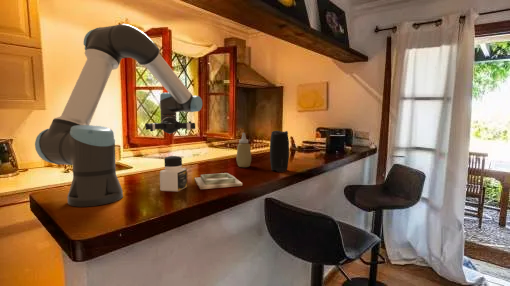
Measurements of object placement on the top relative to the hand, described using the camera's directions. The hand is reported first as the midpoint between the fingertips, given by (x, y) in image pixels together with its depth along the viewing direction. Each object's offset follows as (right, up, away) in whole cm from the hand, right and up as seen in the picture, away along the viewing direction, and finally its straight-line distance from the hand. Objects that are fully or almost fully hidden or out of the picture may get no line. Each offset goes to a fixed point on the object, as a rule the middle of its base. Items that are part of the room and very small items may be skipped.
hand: (171, 126), depth 110 cm
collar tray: (+18, -22, +1) cm, 29 cm away
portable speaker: (+45, -20, +26) cm, 56 cm away
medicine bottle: (+3, -23, -8) cm, 25 cm away
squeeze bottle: (+27, -19, +38) cm, 50 cm away
